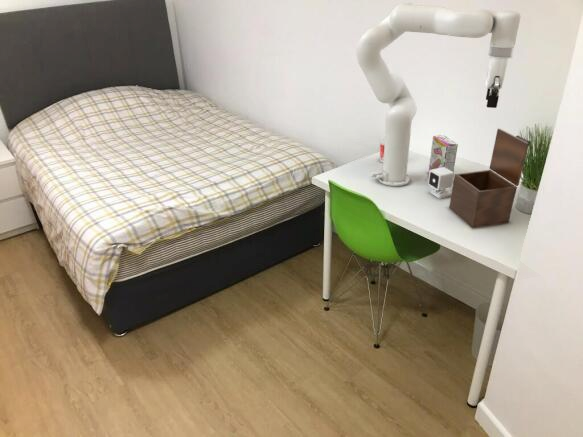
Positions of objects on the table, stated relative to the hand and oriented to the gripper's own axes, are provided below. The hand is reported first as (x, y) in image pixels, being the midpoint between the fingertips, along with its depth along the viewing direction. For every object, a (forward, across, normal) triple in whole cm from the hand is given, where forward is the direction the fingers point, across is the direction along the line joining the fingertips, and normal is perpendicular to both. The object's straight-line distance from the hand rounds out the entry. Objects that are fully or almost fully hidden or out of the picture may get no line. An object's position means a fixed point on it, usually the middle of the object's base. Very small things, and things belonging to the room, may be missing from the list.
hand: (490, 103), depth 162 cm
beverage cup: (+34, -22, -37) cm, 55 cm away
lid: (+13, +15, +7) cm, 21 cm away
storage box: (+34, +19, +1) cm, 39 cm away
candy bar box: (+34, -10, -13) cm, 38 cm away
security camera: (+34, +6, -13) cm, 37 cm away
